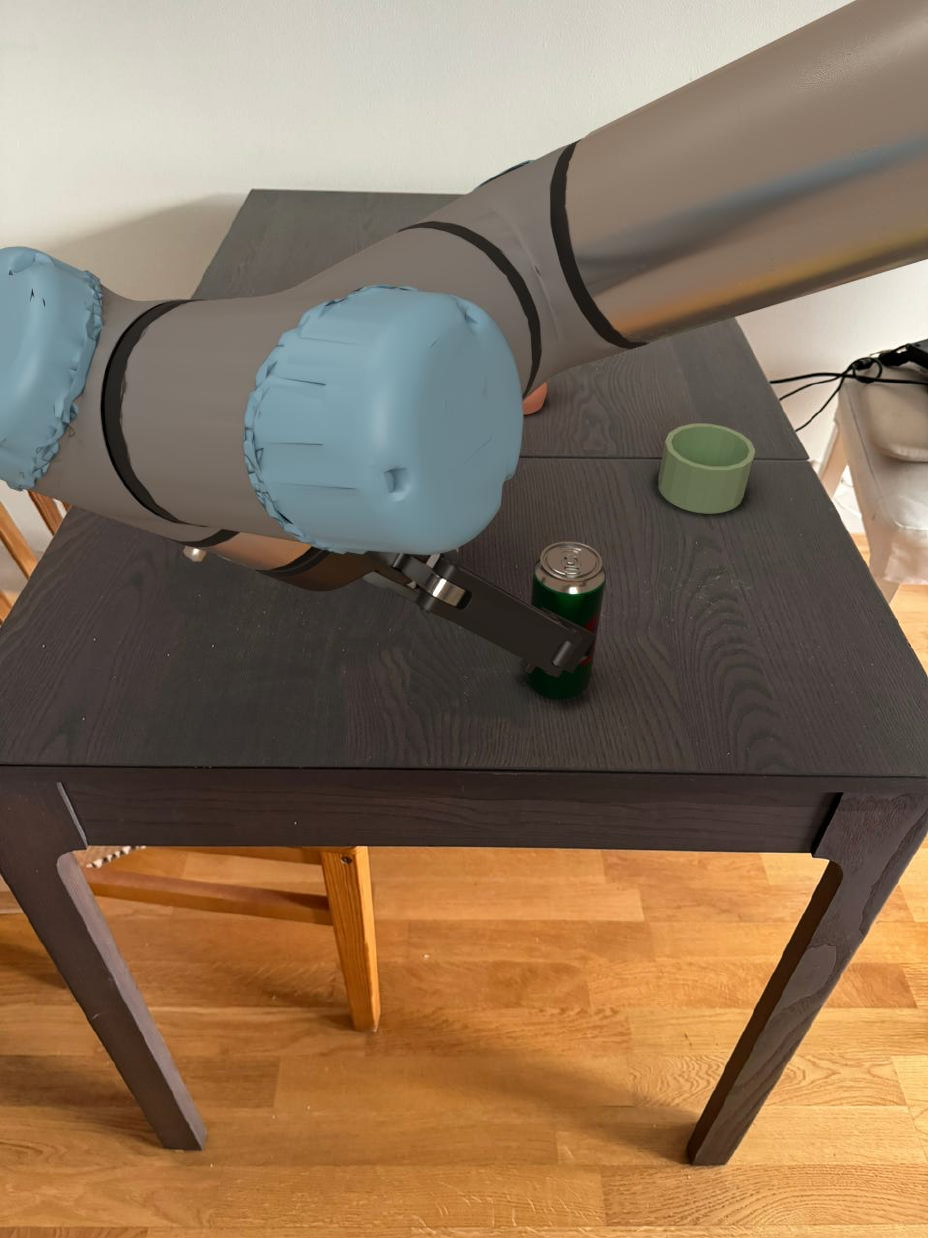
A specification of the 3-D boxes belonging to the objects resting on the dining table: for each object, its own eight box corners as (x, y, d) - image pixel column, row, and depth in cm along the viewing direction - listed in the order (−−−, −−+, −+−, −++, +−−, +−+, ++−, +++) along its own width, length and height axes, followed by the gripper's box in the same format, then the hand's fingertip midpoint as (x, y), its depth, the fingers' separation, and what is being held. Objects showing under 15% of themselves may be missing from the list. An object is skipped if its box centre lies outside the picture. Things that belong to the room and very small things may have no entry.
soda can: (586, 658, 74) (604, 538, 66) (591, 705, 70) (611, 584, 62) (523, 657, 74) (533, 536, 66) (525, 703, 70) (536, 582, 62)
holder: (749, 477, 94) (761, 433, 91) (735, 522, 88) (747, 477, 85) (668, 459, 96) (676, 416, 93) (649, 501, 91) (656, 457, 87)
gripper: (109, 456, 49) (349, 559, 67) (426, 712, 36) (619, 755, 54) (178, 332, 48) (402, 469, 66) (528, 547, 35) (689, 646, 53)
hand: (500, 598), depth 60 cm, fingers open, 13 cm apart
